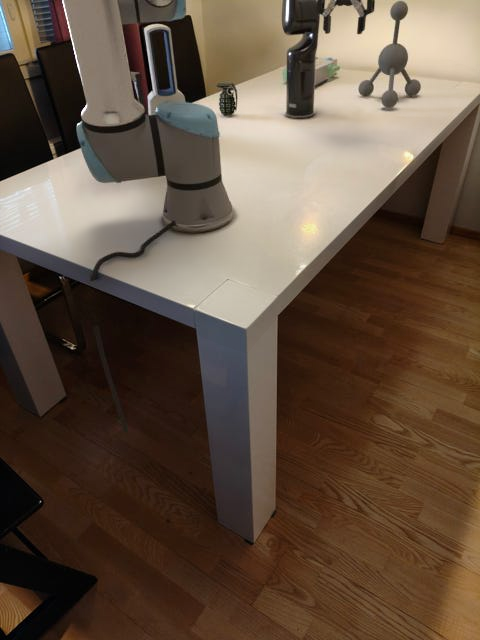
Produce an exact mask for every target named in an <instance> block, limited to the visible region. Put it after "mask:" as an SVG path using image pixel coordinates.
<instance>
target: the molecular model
mask: <svg viewBox="0 0 480 640" xmlns="http://www.w3.org/2000/svg"><path fill="white" fill-rule="evenodd" d="M389 13H390V14H389V15H390V17H391V19H392V20H393V21H395V23H394V31H393V36H392V37H393V38H392V43H389V44H387V45H386V46H384V47H383V48H382V50H381V51H380V53H379V55H378V59H377V64H378V67H377V69H376V70H375V72H374V74H373V75H372V76H371V78H370V79H365V80H362V81H361V82H360V83H359V85H358V94H359V95H360V96H362V97H365V98H367V97H369V96H371V95H372V94H373V93H374V90H375V86H374V82H375V80H376V79H377V78H378V76H379V75H380V74H381V72H382V73H383V74H385V76H389V79H388V89H387V90H385V91H384V92H383V93H382V95H381V98H380V102H381V104H382V106H383V107H385V108H388V109H389V108H393V107H394V106H396V105H397V103H398V101H399V94H398V92H397V91H396V90H394V84H395V83H394V82H395V76H396V75H399V74H402V76H403V78H404V80H405V82H406V83H405V86H404V93H405V94H406V95H407V96H409V97H414V96H416V95H418V94H419V93H420V91H421V88H422V85H421V83H420V81H419V80H418V79H411V77H410V75H409V74H408V72H407V70H406V67H407V64H408V60H409V53H408V50H407V48H406V47H405V46H404V45H403V44H401V43H398V39H399V32H400V26H401V25H400V24H401V21H403V20H404V19H405V18H406V16H407V15H408V13H409V7H408V4H407V3H406V2H405V1H403V0H398V1H396V2H394V3H393V4H392V6H391V7H390V12H389Z"/></svg>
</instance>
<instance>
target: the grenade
mask: <svg viewBox="0 0 480 640" xmlns="http://www.w3.org/2000/svg"><path fill="white" fill-rule="evenodd" d="M215 87H217V88H219V89H221V93H219V97H218V101H219V102H218V106H219V108H218V109H219V112H220V114H221V115H222V116H224V117H231V116H233V115H234V113H235V112H236V111H237V108H238V89H237V87H236V85H235V84H234V83H233V82H218V83H217V84H216V86H215ZM232 91H233V92H232ZM234 94H235V96H234Z"/></svg>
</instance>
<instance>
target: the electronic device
mask: <svg viewBox="0 0 480 640" xmlns="http://www.w3.org/2000/svg"><path fill="white" fill-rule="evenodd" d="M143 32H144V39H145V45H146V52H147V59H148V66H149V73H150V79H151V80H150V81H151V86H152V90H151V91H150V92H149V93H148V95H147V106H148V107H147V109H148V110H147V113H148V115H155V114H156V112H155V111H156V108H157V106H158V105H160V104H164V103H168V102H186V97H185V95H184V94H183V93H182V91H180V90H179V89H178V82H177V81H178V80H177V72H176V65H175V64H176V63H175V56H174V48H173V39H172V30H171V28H170V27H169V26H167V25H165V24H161V23H152V24H149V25H147V26H145V27H144V28H143ZM157 32H158V33H159V32H161V33H162V32H163V38H164V46H165V54H166V62H167V71H168V79H169V86H170V87H169V88H166V89H160V88H159V79H158V74H157V72H158V71H157V66H156V65H157V64H156V58H155V51H154V44H153V37H152V34H154V33H157Z"/></svg>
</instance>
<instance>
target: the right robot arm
mask: <svg viewBox="0 0 480 640" xmlns="http://www.w3.org/2000/svg"><path fill="white" fill-rule="evenodd" d="M363 2H364V1H363V0H330V1H329V2H328V4H327V5H326V0H282V5H281V26H282V31H283V33H284V35H286V36H300V35H302V37H301V38H300V40H299V41H298V42H296V43H295V44H294V45H292V46H291V47H288V48H287V51H286V66H287V82H286V95H285V96H286V100H285V101H286V103H285V108H286V109H285V116H286V117H287V118H290V119H298V120H299V119H308V118H311V117H313V116H314V114H315V110H314V109H315V108H314V107H315V89H316V88H318V87H321V86H322V85H323V84H325V83H327V82H328V79H326V80H324V81H322V82H320V83H318V84H316V85H315V65H316V57H317V51H318V45H319V32H320V23H321V15H322V17H323V22H322V23H323V24H322V30H323V32H324V34H326V35H329V34H330V33H331V30H332V29H331V27H332V16H331V15H332V13H333V11H334V10H335V9H336V7H342V6H346V7H351V6H353V8H354V9H355V11H356V12H357V14H358V18H357V28H356V30H357V31H356V35H362V34H363V32H364V31H365V29H366V22H367V21H366V20H367V16H368V15H370V14H372V13H374V12H375V3H376V0H366V7H365V5H364V3H363ZM325 7H326V8H325Z"/></svg>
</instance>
